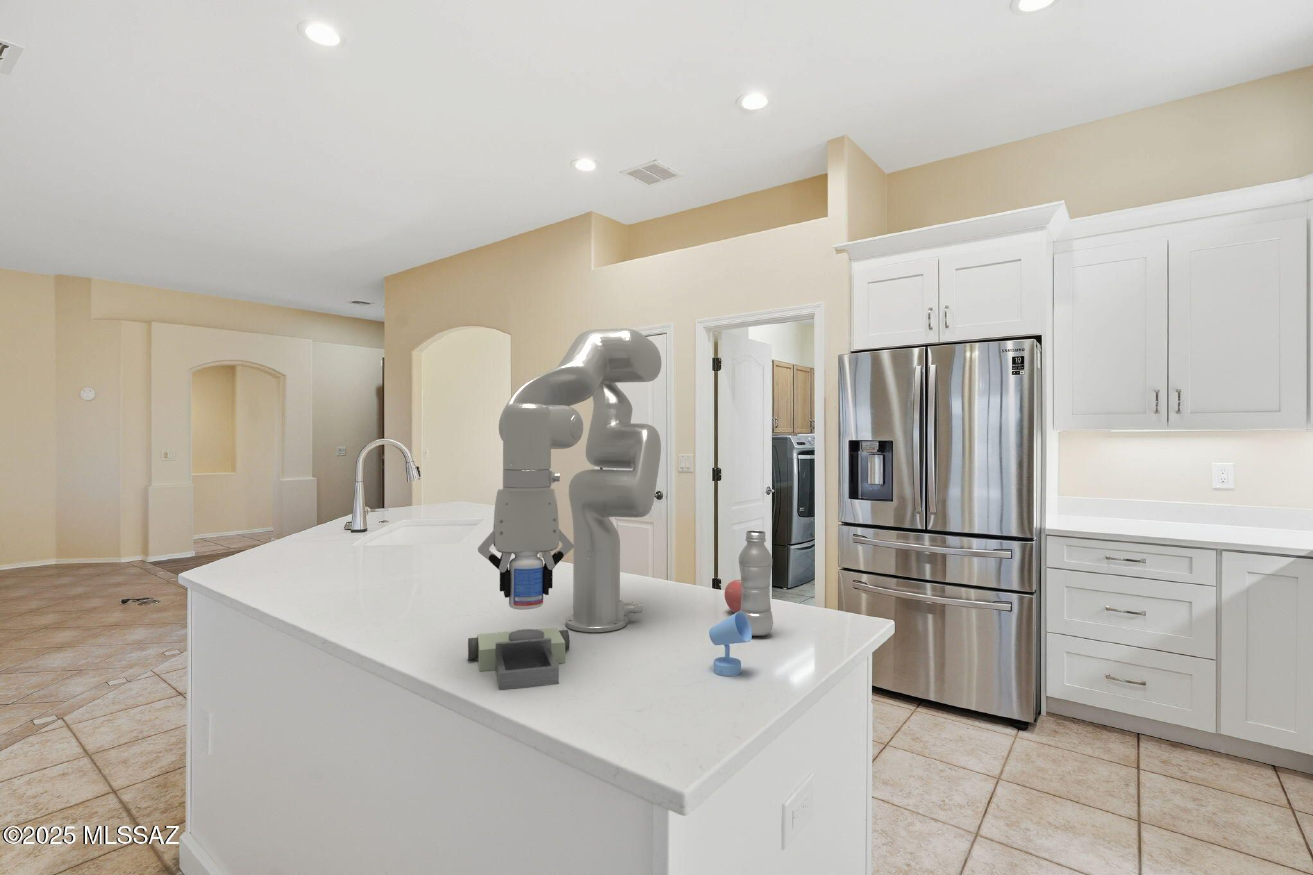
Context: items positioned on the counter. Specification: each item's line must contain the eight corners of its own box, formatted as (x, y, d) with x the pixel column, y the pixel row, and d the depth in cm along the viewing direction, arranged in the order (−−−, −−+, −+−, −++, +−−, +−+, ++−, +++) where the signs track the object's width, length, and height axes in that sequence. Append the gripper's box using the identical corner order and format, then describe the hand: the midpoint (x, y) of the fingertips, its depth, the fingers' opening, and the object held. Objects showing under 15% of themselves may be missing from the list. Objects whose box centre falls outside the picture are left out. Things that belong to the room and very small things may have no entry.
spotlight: (755, 671, 107) (717, 663, 111) (755, 610, 107) (717, 604, 111) (742, 680, 103) (703, 672, 107) (743, 617, 103) (704, 610, 107)
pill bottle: (550, 606, 105) (550, 544, 105) (522, 612, 101) (522, 548, 101) (529, 600, 108) (530, 541, 108) (501, 606, 104) (502, 544, 104)
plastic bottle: (765, 642, 123) (765, 535, 123) (732, 636, 126) (732, 532, 126) (778, 633, 128) (778, 531, 128) (746, 628, 132) (746, 528, 132)
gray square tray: (550, 664, 110) (550, 637, 110) (558, 683, 102) (558, 654, 102) (495, 669, 108) (495, 642, 108) (499, 690, 99) (499, 660, 99)
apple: (735, 607, 148) (735, 571, 148) (764, 612, 144) (764, 576, 144) (718, 614, 142) (718, 577, 142) (748, 620, 138) (748, 582, 138)
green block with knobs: (565, 645, 120) (565, 623, 120) (574, 661, 111) (574, 637, 111) (467, 654, 115) (468, 631, 115) (469, 672, 106) (469, 647, 106)
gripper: (575, 479, 111) (575, 586, 111) (470, 480, 106) (469, 592, 105) (584, 481, 104) (583, 596, 103) (471, 483, 98) (471, 603, 98)
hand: (526, 593), depth 104 cm, fingers closed on pill bottle, 5 cm apart
